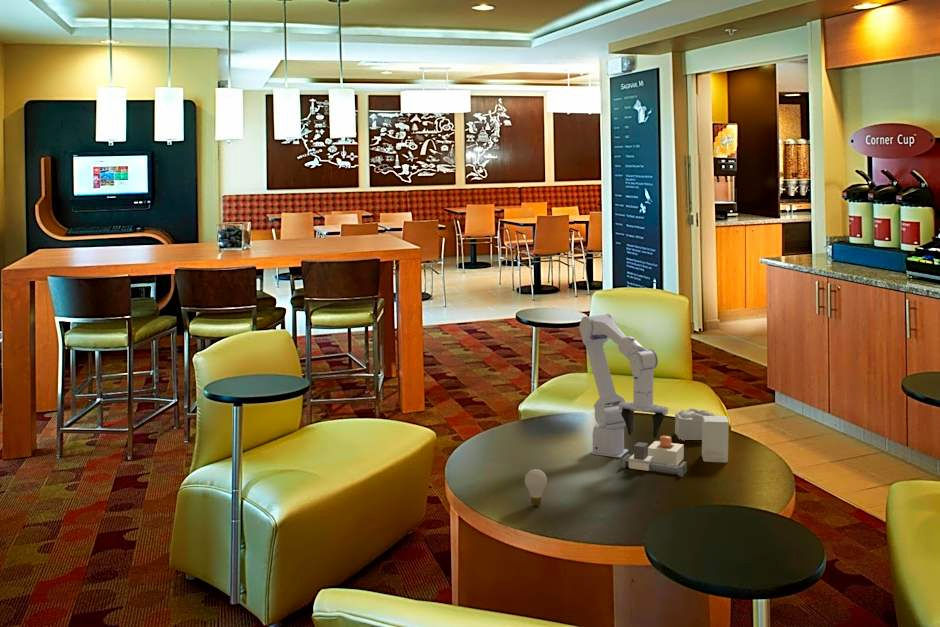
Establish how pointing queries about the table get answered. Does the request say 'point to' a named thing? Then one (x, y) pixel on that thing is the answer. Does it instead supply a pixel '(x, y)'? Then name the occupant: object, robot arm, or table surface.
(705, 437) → the supplement box
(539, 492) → the light bulb
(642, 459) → the carriage
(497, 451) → the table surface
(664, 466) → the rail
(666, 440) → the plunger
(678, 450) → the white hollow block
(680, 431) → the lumpy-topped squat cylinder
